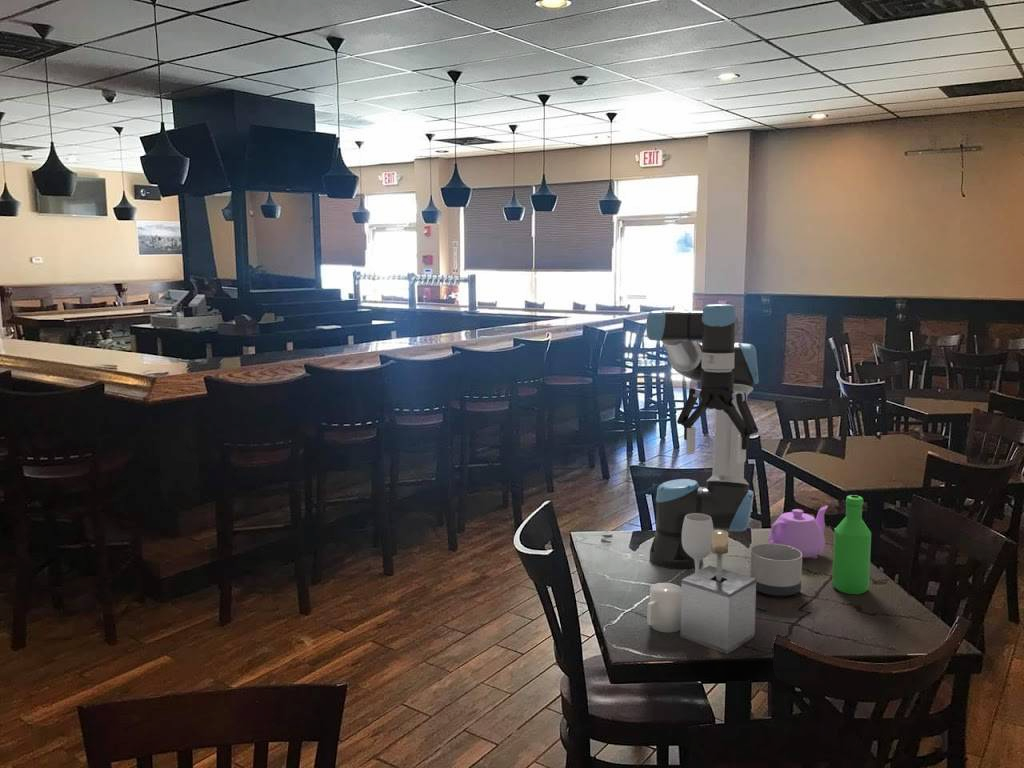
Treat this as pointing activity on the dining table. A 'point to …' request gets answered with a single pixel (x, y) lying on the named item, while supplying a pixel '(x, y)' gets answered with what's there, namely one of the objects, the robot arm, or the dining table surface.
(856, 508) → the bottle
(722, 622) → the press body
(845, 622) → the dining table surface
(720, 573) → the plunger
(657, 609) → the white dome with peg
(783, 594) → the planter
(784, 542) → the teapot
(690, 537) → the wineglass
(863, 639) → the dining table surface
